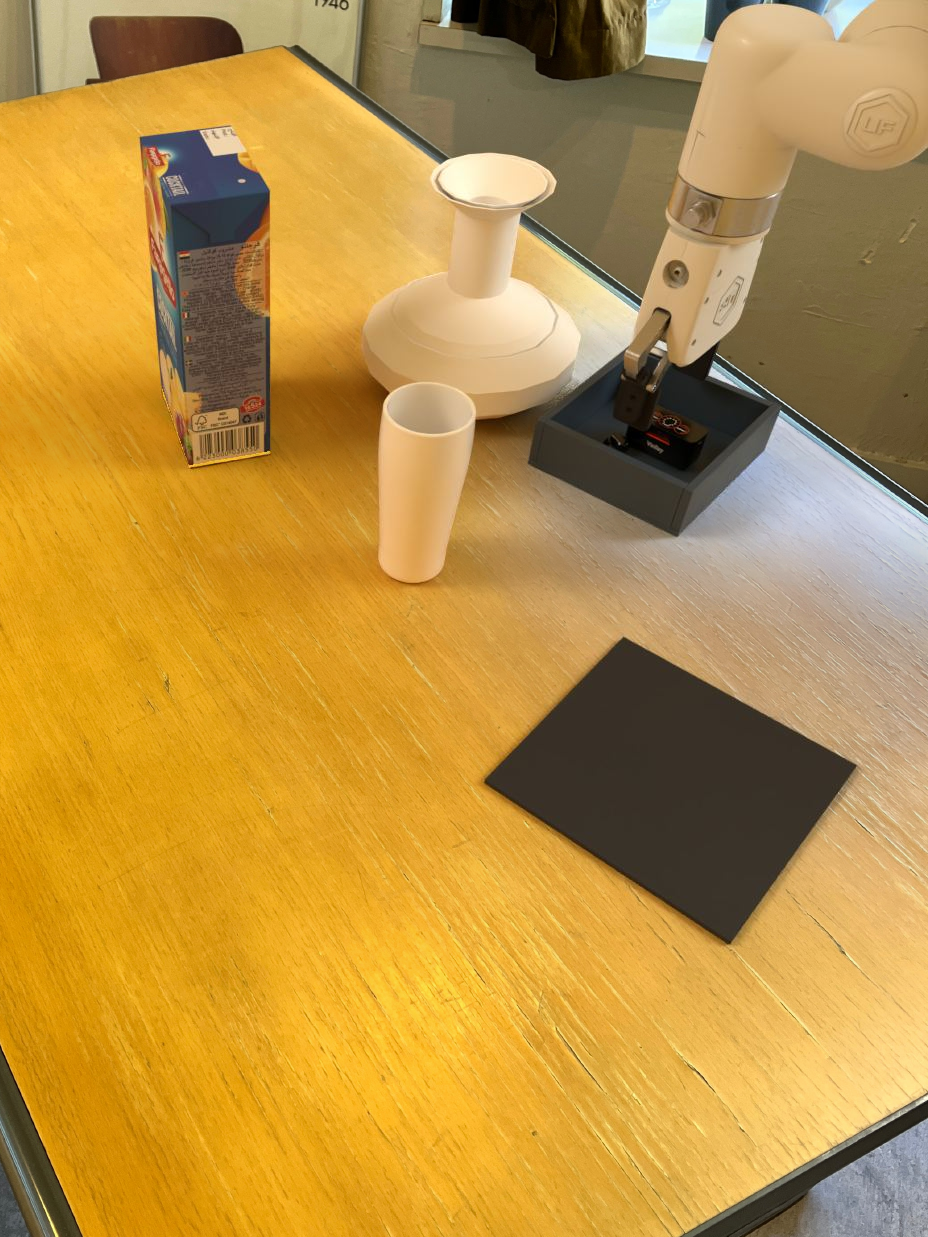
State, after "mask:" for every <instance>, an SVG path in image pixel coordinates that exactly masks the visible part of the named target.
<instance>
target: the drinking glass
mask: <svg viewBox="0 0 928 1237" xmlns="http://www.w3.org/2000/svg"><path fill="white" fill-rule="evenodd" d="M476 421H477V420H476V407H475V405H474V403H473V401H472V400H471V399H470V398H469V396H467V395H466V394H465V393H464V392H462V391H460V390H459V389H456V388H454V387H452V386H449V385H445V384H441V383H434V382H418V383H412V384H407V385H404V386H401V387H399V388H397V389H395V390H394V391H392V392H391V393H390V392H389V393H388V395H387V396H386V398H385V399H384V401H383V404H382V410H381V418H380V425H379V432H378V446H377V447H378V448H377V478H378V483H377V484H378V485H377V486H378V539H379V540H378V549H377V559H378V564H379V566H380V568H381V569H382V571H383V572H384V573H385V574H386V575H387V576H389V577H390V578H392V579H394V580H395V581H398V582H402V583H405V584H406V583H407V584H419V583H425V582H428V581H431V580H432V579H434V578H435V577H437V576H438V575H439V574H440V573H441V571H442V570H443V568H444V565H445V562H446V557H447V556H446V555H447V550H448V545H449V542H450V537H451V533H452V530H453V526H454V521H455V518H456V514H457V510H458V508H459V507H458V506H459V503H460V499H461V496H462V492H463V489H464V486H465V485H464V484H465V481H466V477H467V474H468V469H469V465H470V461H471V458H472V451H473V445H474V439H475V430H476Z"/></svg>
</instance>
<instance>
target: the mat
mask: <svg viewBox="0 0 928 1237" xmlns="http://www.w3.org/2000/svg"><path fill="white" fill-rule="evenodd" d="M857 766H858V765H857V764H856V763H854V762H852V761H850V759H849V760H848V759H847V758H845V757H843V756H842V755H840V754H838V753H836V752H834V751H833V750H831V749H829V748H827V747H825V746H823V745H821V744H820V743H817V742H816V741H814V740H812V739H810V738H809V737H807V736H805V735H804V734H802V733H799V732H798V731H796V730H794V729H792V728H790V727H789V726H787V725H785V724H784V723H782V722H780V721H778V720H776V719H774V718H772V717H771V716H768V715H767V714H766V713H764V712H761V711H759V710H758V709H756V708H755V707H753V706H751V705H748V704H747V703H745V702H743V701H741V700H739V699H738V698H736V697H734V696H732V695H731V694H729V693H727V692H725V691H723V690H722V689H719V688H718V687H716V686H714V685H712V684H711V683H709V682H707V681H705V680H703V679H702V678H699V677H698V676H696V675H694V674H692V673H690V672H689V671H687V670H685V669H683V668H682V667H680V666H678V665H676V664H674V663H672V661H671V662H670V661H669V660H667V659H665V658H664V657H661V656H660V655H658V654H656V653H654V652H653V651H651V650H649V649H647V648H645V647H643V646H641V645H640V644H638V643H637V642H634V641H633V640H631V639H629V638H627V637H626V636H623V637H621V638H620V639H619V641H617V642H616V644H615V645H614V646H612V647H611V649H610V650H609V651H608V652H607V653H606V654H605V655H604V656H603V657H602V658H601V659H600V660H599V661H598V662H597V663H596V664H595V665H594V666H593V667H592V668H591V669H590V670H589V671H588V672H587V674H585V675H584V677H583V678H581V680H579V682H578V683H576V685H575V686H573V688H572V689H571V690H570V691H569V692H568V693H567V694H566V695H564V697H563V698H562V699H561V700H560V701H559V703H558V704H556V706H554V708H552V710H550V711H549V712H548V714H547V715H546V716H545V717H544V718H542V720H541V721H540V722H539V723H538V724H537V725H536V726H535V727H534V728H533V729H532V730H531V731H530V732H529V733H528V734H527V735H526V736H525V737H524V738H523V739H522V741H521V742H520V743H518V744H517V746H516V747H514V749H513V750H512V751H510V753H509V754H508V755H507V756H506V757H504V759H503V760H502V761H501V762H500V763H499V764H498V765H497V766H496V767H495V768H494V769H493V770H492V772H490V774H488V775H487V777H486V778H484V781H483V783H484V784H485V785H486V786H488V787H489V788H490V789H492V790H494V791H495V792H497V793H498V794H500V795H501V796H503V797H504V798H506V799H508V800H509V801H511V802H512V803H514V804H515V805H517V806H518V807H519V808H521V809H523V810H524V811H526V812H527V813H529V814H530V815H532V816H533V817H535V818H537V819H538V820H539V821H540V822H543V823H544V824H546V825H547V826H549V827H550V828H551V829H552V830H554V831H556V832H558V833H559V834H560V835H561V836H564V837H565V838H567V839H568V840H570V841H571V842H573V843H574V844H576V845H577V846H579V847H580V848H582V849H583V850H585V851H586V852H588V853H589V854H590V855H592V856H594V857H595V858H597V859H599V860H601V862H603V863H605V864H606V865H608V866H609V867H611V868H612V869H613V870H614V871H617V872H618V873H620V874H621V875H622V876H624V877H626V878H627V879H629V880H630V881H632V882H633V883H635V884H636V885H638V886H640V887H641V888H643V889H644V890H645V891H647V892H648V893H650V894H651V895H653V896H655V897H656V898H658V899H659V900H661V901H662V902H664V903H665V904H667V905H668V906H669V907H671V908H673V909H674V910H676V911H677V912H678V913H680V914H682V915H683V916H685V917H686V918H688V919H689V920H691V921H692V922H694V923H696V924H697V925H698V926H700V927H702V928H703V929H705V930H706V931H707V932H709V933H711V934H712V935H714V936H715V937H717V938H718V939H720V940H721V941H723V942H724V943H726V944H727V945H731V944H732V942H733V941H734V940H735V938H736V937H737V935H738V934H739V933H740V931H741V930H742V928H743V926H744V925H745V924H746V923H747V921H748V920H749V918H750V917H751V915H752V914H753V913H754V911H755V910H756V908H757V907H759V906H758V905H759V904H760V903H761V902H762V900H763V899H764V897H765V896H766V894H767V893H768V892H769V890H770V888H771V887H772V886H773V885H774V883H775V882H776V880H777V879H778V878H779V877H780V875H781V874H782V872H783V871H784V869H785V868H786V866H787V865H788V864H789V863H790V862H791V859H792V858H793V856H794V855H795V854H796V852H797V851H798V850H799V848H800V847H801V845H802V844H803V842H804V841H806V838H807V837H808V836H809V834H810V833H811V831H812V830H813V828H814V827H815V826H816V824H817V823H818V821H819V820H820V819H821V818H822V816H823V815H824V814H825V812H826V810H827V809H828V808H829V806H830V805H831V803H832V802H833V801H834V799H835V797H836V796H837V795H838V793H839V792H841V789H842V788H843V786H844V785H845V784H846V782H847V781H848V779H849V778H850V777H851V775H852V774H853V772H854V771H855V770H856V768H857Z"/></svg>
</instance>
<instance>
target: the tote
mask: <svg viewBox="0 0 928 1237" xmlns="http://www.w3.org/2000/svg"><path fill="white" fill-rule="evenodd" d="M629 346H630V344H629V345H628V346H626V348H625V349H623V350H622V351H621V352H619V353H618V354H617V355H615V356H614V357H613V358H611V359H610V360H609V361H608V362H607V363H606V364H604V365H603V366H602V367H600V368H599V369H598V370H596V371H595V372H594V373H593V374H592V375H591V376H588V378H587V379H585V380H584V381H582V383H580V384H579V385H578V386H576V387H575V388H574V389H572V391H570V392H569V393H567V395H565V396H564V397H563V398H562V399H560V400H559V401H558V402H556V403H555V404H554V405H553V406H551V408H549V409H548V410H547V411H545V412H544V413H542V414H541V415H540V416H539V417H538V418H537V419H536V421H535V426H534V430H533V437H532V441H531V444H530V445H531V446H530V450H529V455H528V460H527V464H528V465H530V466H531V467H534V468H536V469H538V470H540V471H542V472H544V473H546V474H548V475H550V476H553V477H554V478H556V479H558V480H561V481H562V482H565V483H567V484H569V485H571V486H572V487H575V488H577V489H579V490H581V491H583V492H585V493H586V494H589V495H591V496H593V497H594V498H597V499H599V500H601V501H603V502H605V503H607V504H609V505H611V506H613V507H616V508H618V509H620V510H622V511H624V512H626V513H627V514H630V515H632V516H634V517H636V518H638V519H640V520H641V521H644V522H646V523H648V524H650V525H652V526H654V527H656V528H658V529H660V530H662V531H664V532H666V533H668V534H670V535H672V536H675V537H676V538H677V537H679V536H680V535H681V534H682V533H683V532H684V531H685V530H686V529H687V528H688V527H689V526H690V525H691V524H692V523H693V522H694V521H695V520H696V519H697V518H699V516H700V515H701V514H702V513H703V512H704V511H705V510H706V509H707V508H708V507H709V506H710V505H711V504H712V503H713V502H714V501H715V500H716V499H717V498H718V497H719V496H720V495H721V494H722V493H723V492H724V491H725V490H726V489H727V488H728V487H730V485H731V484H733V482H734V481H735V480H736V479H737V478H738V477H739V476H740V475H742V473H743V472H745V470H746V469H748V467H749V466H750V465H752V464H753V462H754V461H756V459H757V458H758V457H759V456H760V455H761V454H763V452H764V451H765V450H766V448H767V445H768V442H769V440H770V437H771V435H772V432H773V430H774V427H775V425H776V423H777V420H778V417H779V415H780V413H781V410H782V406H783V405H780V404H779V403H777V402H774V401H772V400H770V399H767V398H765V397H762V396H759V395H758V394H755V393H752V392H750V391H747V390H745V389H743V388H740V387H737V386H735V385H732V384H731V383H728V382H726V381H723V380H720V379H718V378H716V377H714V376H711V375H708V377H707V378H706V379H704V380H703V381H701V380H698V379H696V378H693V377H691V376H689V375H686V374H684V373H682V372H679V371H677V370H675V369H673V368H672V363H671V365H670V366H669V368H668V370H667V372H666V373H665V375H664V377H663V379H662V380H661V382H660V384H659V386H658V387H659V388H661V389H662V391H661V394H660V397H659V400H658V403H657V405H659V406H661V407H663V408H665V409H667V410H669V411H671V412H673V413H676V414H678V415H680V416H682V417H684V418H686V419H688V420H690V421H693V422H695V423H697V424H699V425H701V426H703V427H705V428H706V429H707V430H708V434H707V436H706V439H705V442H704V445H703V448H702V451H701V454H700V456H699V458H698V460H697V461H695V462H694V463H693V464H692V465H691V466H689V467H688V468H687V469H685V470H679V469H677V468H675V467H673V466H671V465H669V464H667V463H665V462H663V461H661V460H659V459H657V458H655V457H653V456H651V455H649V454H647V453H645V452H643V451H641V450H639V449H637V448H635V447H633V446H631V445H630V446H629V450H628V451H626V452H620V451H618V450H616V449H615V448H614V447H612V446H611V445H610V444H609V446H606V445H604V444H603V442H604V440H605V439H606V438H607V437H608V440H609V439H610V437H611V435H612V434H613V433H615V432H618V433H620V434H621V435H622V436H623V437H625V434H626V430H627V427H628V425H627V424H625V423H623V422H621V421H619V420H617V419H615V418H614V417H613V410H614V407H615V403H616V400H617V396H618V393H619V389H620V386H621V382H622V380H621V376H622V366H623V364H624V354H625V351H626V350H627V348H628V347H629ZM659 362H660V359H658V358H656V357H653V356H651V355H648V357H647V362H646V364H645V366H646V367H648V368H649V369H650V371H651V373H652V374H653V373H654V371H655V369H656V367H657V366H658V364H659Z"/></svg>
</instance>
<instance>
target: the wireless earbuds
mask: <svg viewBox="0 0 928 1237" xmlns="http://www.w3.org/2000/svg"><path fill="white" fill-rule="evenodd" d="M707 434H708V430H707V429H706V428H705V427H703V426H701V425H699V424H697V423H695V422H693V421H690V420H688V419H686V418H684V417H682V416H680V415H678V414H676V413H673V412H671V411H669V410H667V409H665V408H663V407H661V406H659V405H657V407H656V410H655V413H654V416H653V419H652V422H651V425H650V428H648V429H647V430H646V431H640V430H638V429H636V428H634V427H632V426H629V425H628V427H627V430H626V434H625V437H623V436H622V435H621V434H620V433H618V432H615V433H613V434H612V435H611V437H610V439H609V440H608V437H607V438H606V439H605V440H604V442H603V444H604V445H606V446H609V444H610V445H611V446H612V447H614V448H615V449H616V450H618V451H620V452H626V451H628V450H629V446H630V445H631V446H633V447H635V448H637V449H639V450H641V451H643V452H645V453H647V454H649V455H651V456H653V457H655V458H657V459H659V460H661V461H663V462H665V463H667V464H669V465H671V466H673V467H675V468H677V469H679V470H685V469H687V468H688V467H689V466H691V465H692V464H693V463H694V462H695V461H697V460H698V458H699V456H700V454H701V451H702V448H703V445H704V442H705V439H706V436H707Z"/></svg>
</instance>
